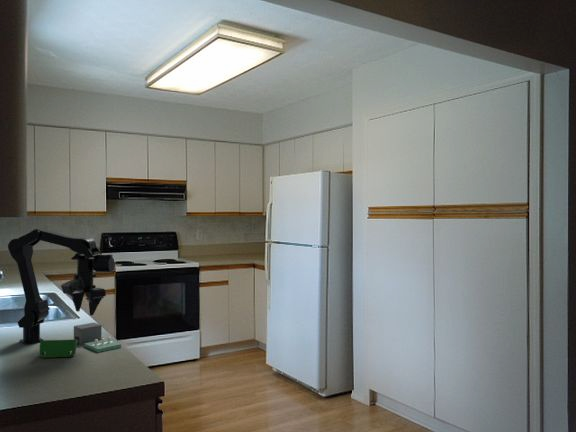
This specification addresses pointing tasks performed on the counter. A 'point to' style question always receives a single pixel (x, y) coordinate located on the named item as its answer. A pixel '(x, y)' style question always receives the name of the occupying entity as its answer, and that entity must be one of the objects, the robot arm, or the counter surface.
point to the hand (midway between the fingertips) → (84, 313)
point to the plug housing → (87, 332)
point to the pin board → (102, 345)
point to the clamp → (57, 348)
